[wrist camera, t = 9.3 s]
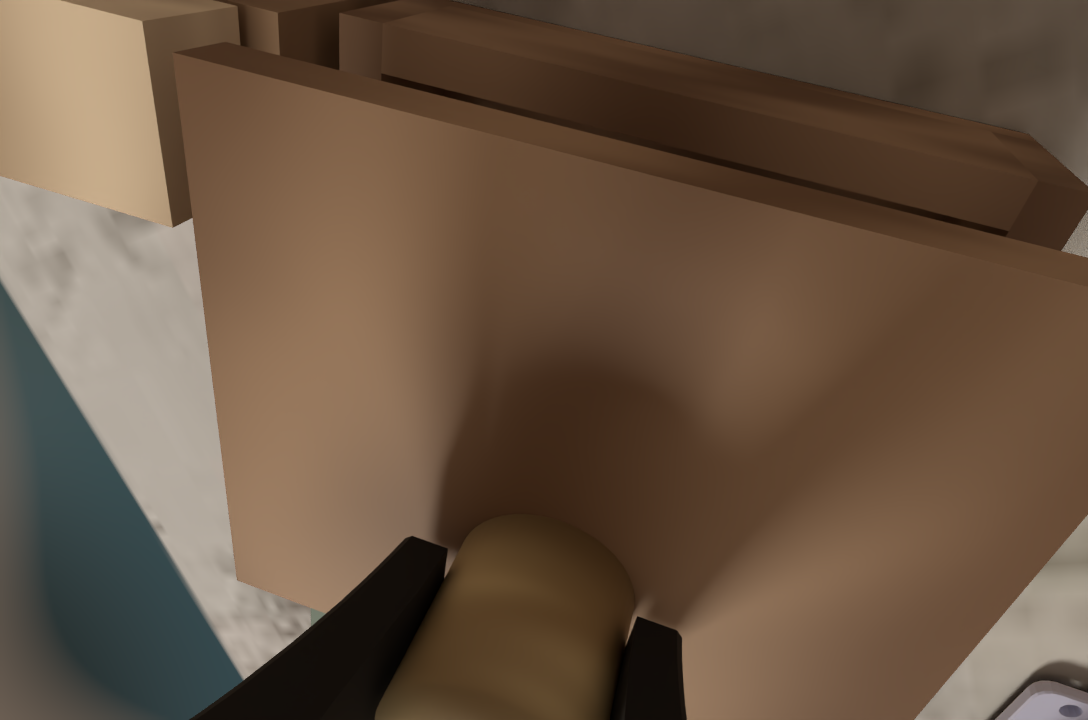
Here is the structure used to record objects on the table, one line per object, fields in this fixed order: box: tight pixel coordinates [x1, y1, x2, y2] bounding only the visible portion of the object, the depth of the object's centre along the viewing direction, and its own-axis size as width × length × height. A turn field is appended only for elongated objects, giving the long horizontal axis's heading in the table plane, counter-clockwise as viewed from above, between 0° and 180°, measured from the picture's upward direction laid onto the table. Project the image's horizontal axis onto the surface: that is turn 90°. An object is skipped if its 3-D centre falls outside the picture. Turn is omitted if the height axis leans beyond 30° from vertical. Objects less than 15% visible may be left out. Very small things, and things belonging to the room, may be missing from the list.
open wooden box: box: [214, 0, 1088, 251], centre depth 15 cm, size 18×10×4 cm, turn 80°
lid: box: [172, 42, 1088, 720], centre depth 10 cm, size 12×10×4 cm
